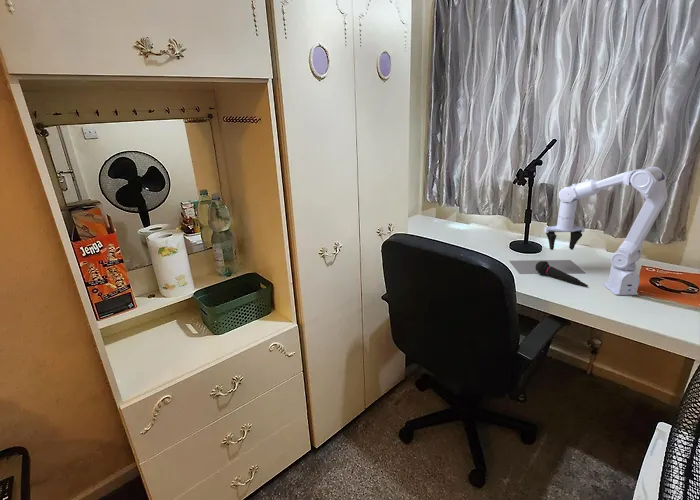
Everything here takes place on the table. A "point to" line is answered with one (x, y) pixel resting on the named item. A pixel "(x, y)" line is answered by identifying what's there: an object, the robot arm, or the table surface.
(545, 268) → the microphone
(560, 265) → the charcoal mat
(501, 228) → the table surface
